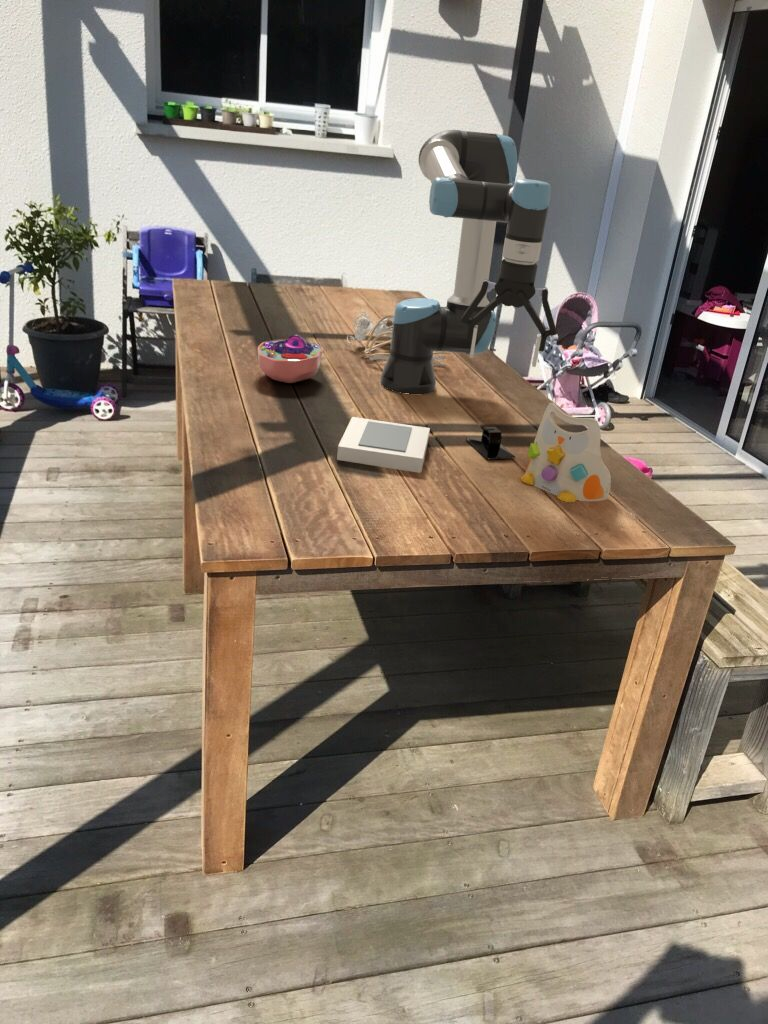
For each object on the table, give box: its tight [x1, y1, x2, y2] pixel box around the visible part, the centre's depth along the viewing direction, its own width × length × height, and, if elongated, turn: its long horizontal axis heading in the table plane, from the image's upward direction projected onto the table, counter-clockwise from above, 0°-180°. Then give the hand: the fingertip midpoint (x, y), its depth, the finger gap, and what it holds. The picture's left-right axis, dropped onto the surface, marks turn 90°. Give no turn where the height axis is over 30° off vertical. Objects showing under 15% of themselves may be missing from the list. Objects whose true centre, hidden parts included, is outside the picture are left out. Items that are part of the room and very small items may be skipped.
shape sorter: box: [520, 402, 612, 503], centre depth 173 cm, size 20×10×18 cm, turn 44°
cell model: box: [257, 334, 324, 384], centre depth 219 cm, size 17×20×11 cm
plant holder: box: [346, 309, 451, 368], centre depth 249 cm, size 28×35×16 cm
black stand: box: [465, 426, 516, 460], centre depth 190 cm, size 12×7×5 cm, turn 18°
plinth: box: [336, 416, 431, 474], centre depth 183 cm, size 18×18×4 cm
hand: (502, 360), depth 181 cm, fingers open, 13 cm apart
